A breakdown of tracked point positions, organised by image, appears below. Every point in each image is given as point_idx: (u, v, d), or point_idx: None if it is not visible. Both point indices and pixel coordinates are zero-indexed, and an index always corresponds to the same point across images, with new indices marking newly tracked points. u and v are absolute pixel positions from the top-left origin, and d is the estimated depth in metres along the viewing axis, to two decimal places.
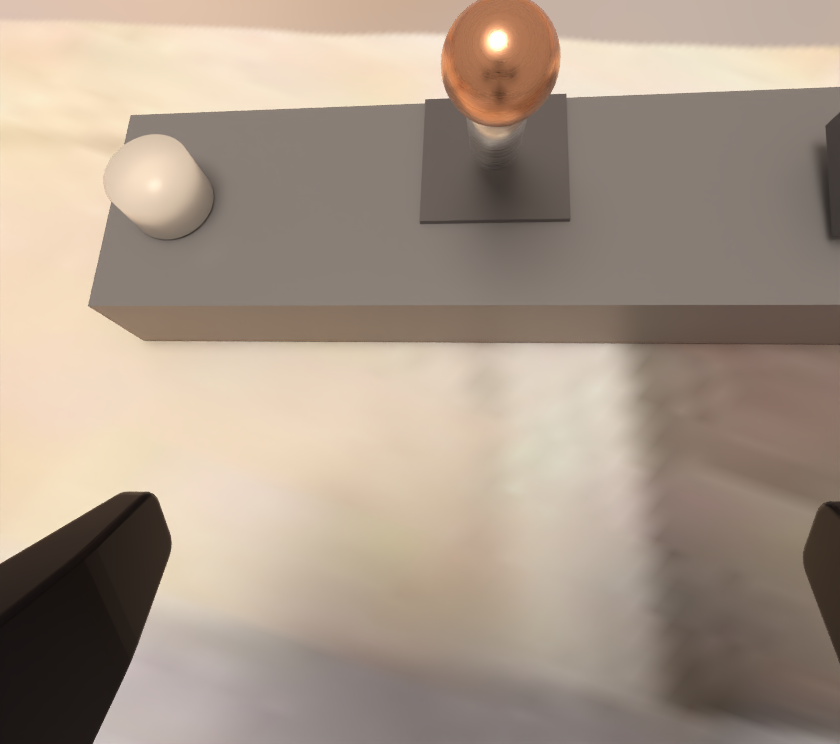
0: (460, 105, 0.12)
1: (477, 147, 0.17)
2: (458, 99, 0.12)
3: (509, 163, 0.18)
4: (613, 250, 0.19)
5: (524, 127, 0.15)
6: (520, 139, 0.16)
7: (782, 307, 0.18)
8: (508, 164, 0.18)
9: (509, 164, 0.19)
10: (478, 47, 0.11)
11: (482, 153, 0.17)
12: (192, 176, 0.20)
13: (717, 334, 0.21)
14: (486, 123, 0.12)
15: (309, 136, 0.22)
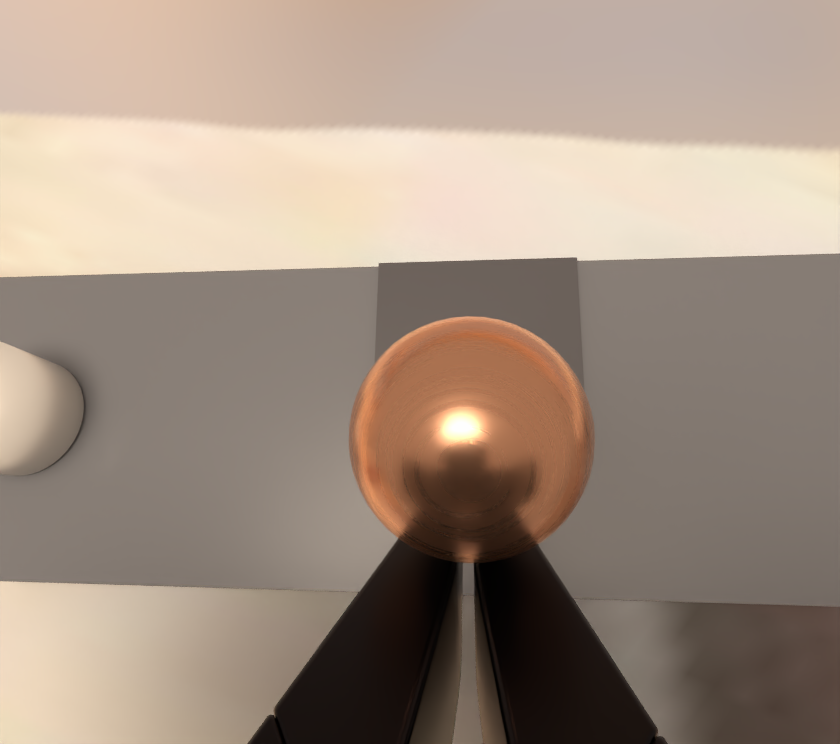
0: (390, 529, 0.06)
1: None
2: (383, 524, 0.06)
3: None
4: (651, 509, 0.13)
5: None
6: None
7: None
8: None
9: None
10: (416, 480, 0.05)
11: None
12: (38, 405, 0.14)
13: None
14: None
15: (218, 315, 0.15)
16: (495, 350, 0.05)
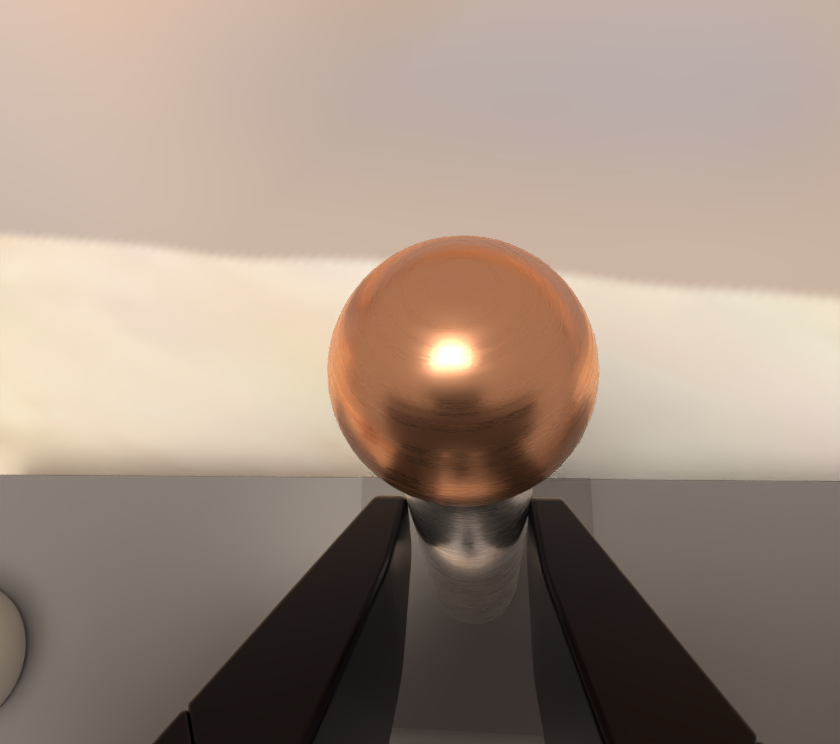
0: (361, 441, 0.05)
1: (436, 574, 0.09)
2: (354, 428, 0.05)
3: (499, 611, 0.10)
4: None
5: (523, 539, 0.08)
6: (516, 564, 0.09)
7: None
8: (497, 612, 0.10)
9: (499, 613, 0.10)
10: (400, 299, 0.04)
11: (446, 587, 0.09)
12: None
13: None
14: (427, 490, 0.05)
15: (179, 532, 0.14)
16: None
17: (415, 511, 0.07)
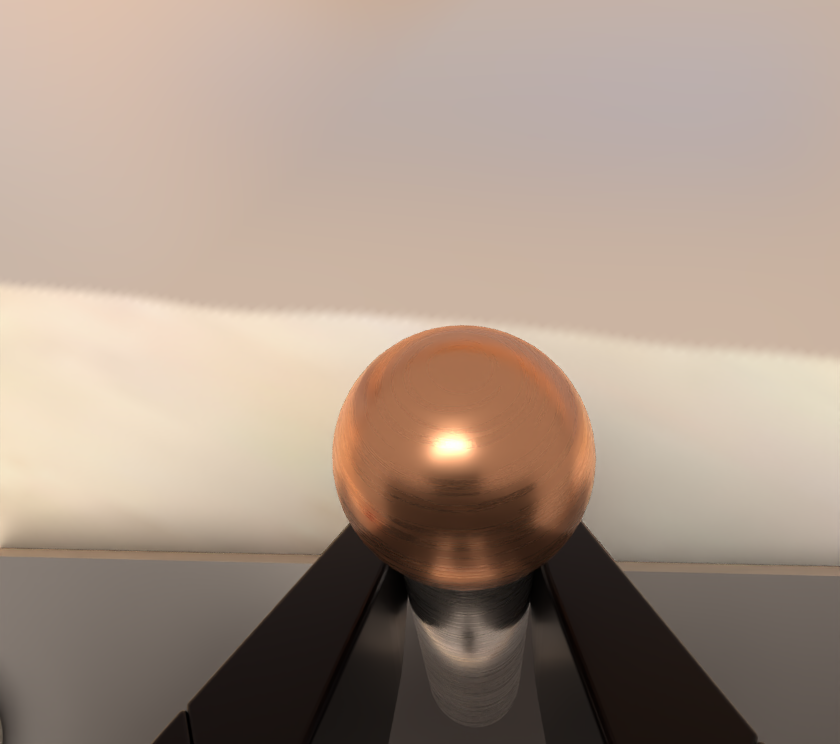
0: (363, 521, 0.05)
1: (434, 669, 0.08)
2: (357, 506, 0.05)
3: (500, 713, 0.10)
4: None
5: (524, 631, 0.08)
6: (518, 659, 0.08)
7: None
8: (498, 715, 0.10)
9: (500, 715, 0.10)
10: (404, 383, 0.05)
11: (445, 684, 0.09)
12: None
13: None
14: (427, 571, 0.05)
15: (165, 621, 0.13)
16: None
17: (414, 598, 0.07)
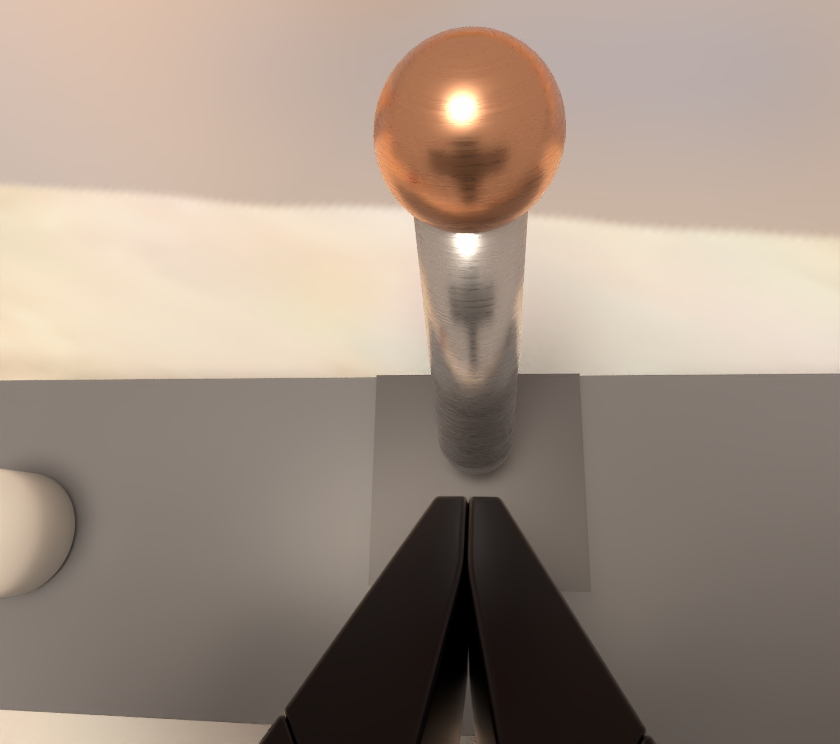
0: (399, 154, 0.07)
1: (445, 391, 0.10)
2: (394, 144, 0.07)
3: (497, 454, 0.12)
4: (655, 646, 0.13)
5: (516, 347, 0.10)
6: (511, 384, 0.11)
7: None
8: (496, 457, 0.12)
9: (498, 459, 0.12)
10: (428, 48, 0.07)
11: (453, 408, 0.11)
12: (27, 536, 0.13)
13: None
14: (445, 186, 0.07)
15: (212, 426, 0.15)
16: None
17: (431, 292, 0.09)
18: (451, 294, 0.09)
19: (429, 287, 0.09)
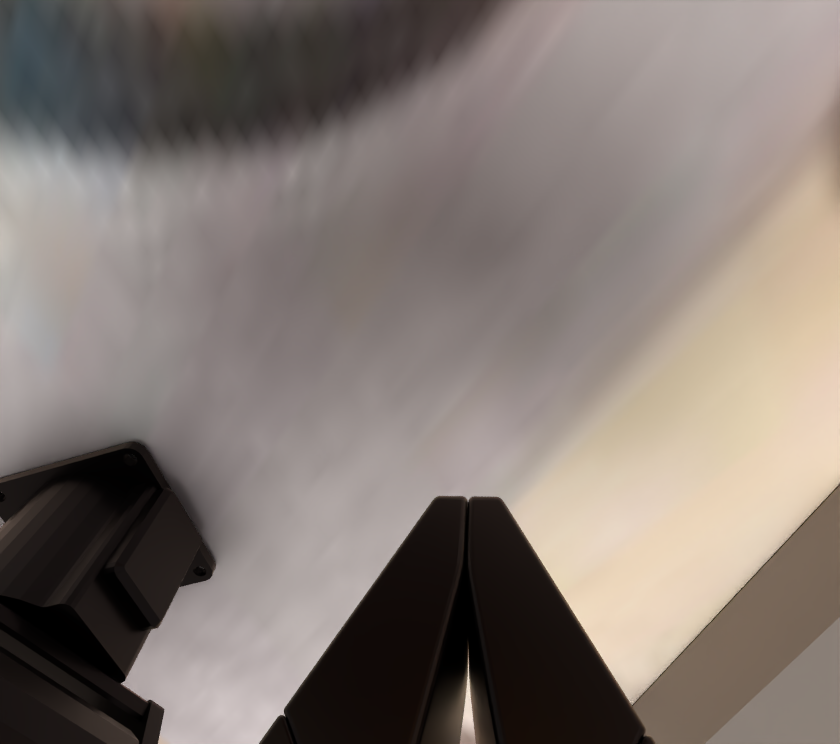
0: None
1: None
2: None
3: None
4: None
5: None
6: None
7: None
8: None
9: None
10: None
11: None
12: None
13: None
14: None
15: None
16: None
17: None
18: None
19: None
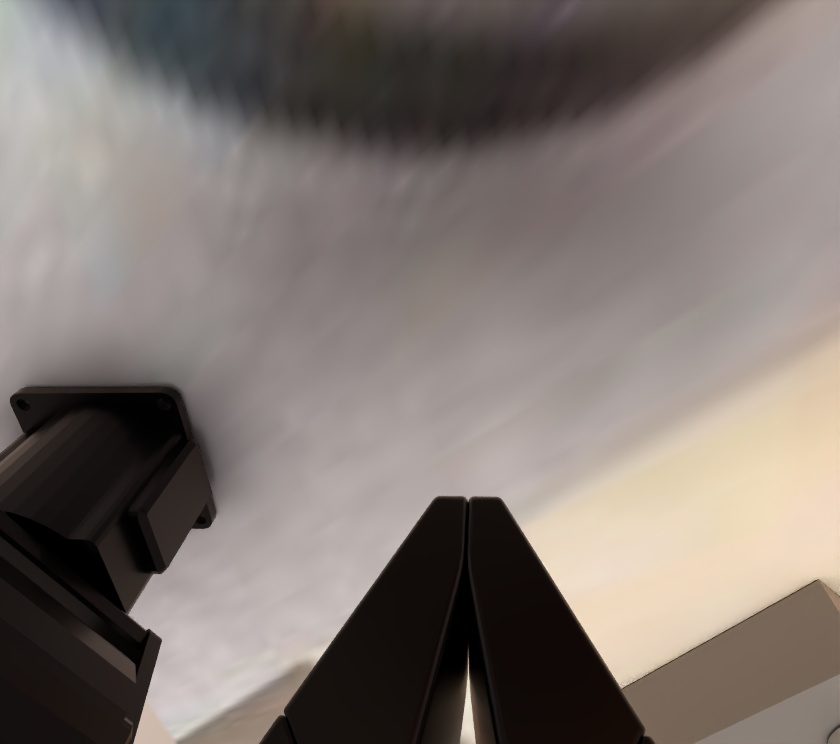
0: None
1: None
2: None
3: None
4: None
5: None
6: None
7: None
8: None
9: None
10: None
11: None
12: None
13: None
14: None
15: None
16: None
17: None
18: None
19: None
